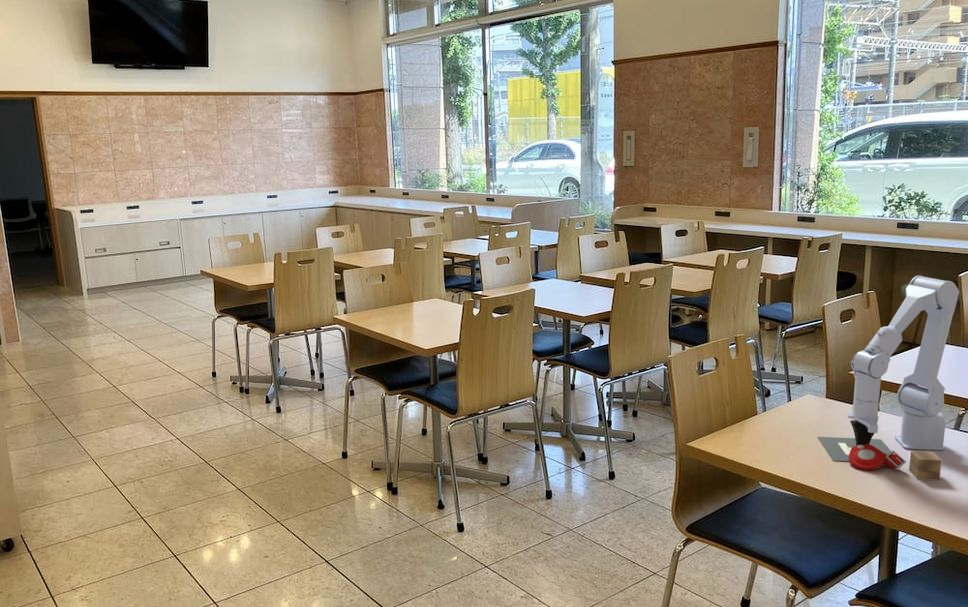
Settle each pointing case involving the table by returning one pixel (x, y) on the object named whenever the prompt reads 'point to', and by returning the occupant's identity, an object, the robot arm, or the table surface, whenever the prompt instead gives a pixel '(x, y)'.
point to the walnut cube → (925, 465)
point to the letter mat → (847, 447)
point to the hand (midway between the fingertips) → (861, 449)
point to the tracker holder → (873, 458)
